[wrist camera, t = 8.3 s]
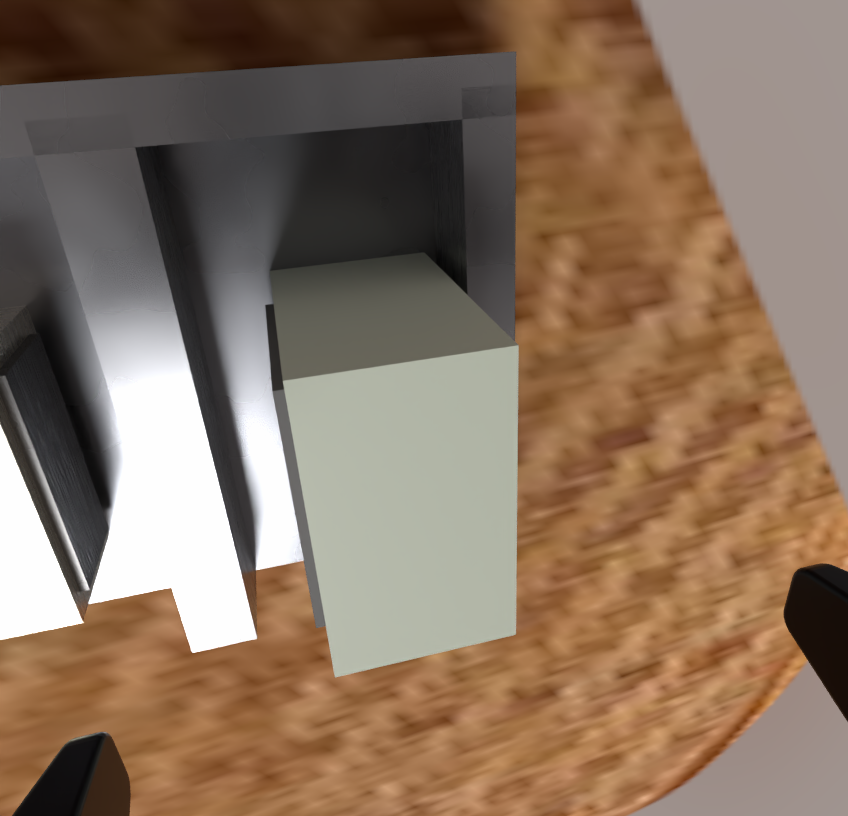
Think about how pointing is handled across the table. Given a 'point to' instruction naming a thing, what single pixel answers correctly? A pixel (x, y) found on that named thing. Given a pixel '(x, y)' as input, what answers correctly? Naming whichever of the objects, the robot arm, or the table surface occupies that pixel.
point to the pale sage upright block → (397, 456)
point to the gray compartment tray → (206, 303)
